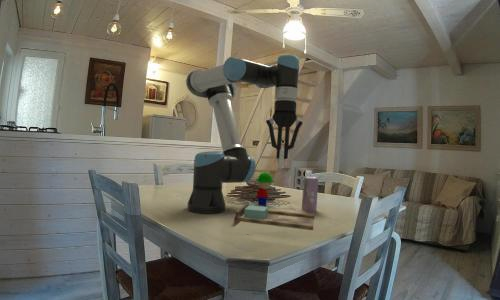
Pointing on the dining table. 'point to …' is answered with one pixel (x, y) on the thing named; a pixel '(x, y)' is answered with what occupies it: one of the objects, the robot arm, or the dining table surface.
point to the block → (256, 212)
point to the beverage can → (310, 193)
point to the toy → (263, 187)
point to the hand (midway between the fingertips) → (281, 168)
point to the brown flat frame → (278, 219)
